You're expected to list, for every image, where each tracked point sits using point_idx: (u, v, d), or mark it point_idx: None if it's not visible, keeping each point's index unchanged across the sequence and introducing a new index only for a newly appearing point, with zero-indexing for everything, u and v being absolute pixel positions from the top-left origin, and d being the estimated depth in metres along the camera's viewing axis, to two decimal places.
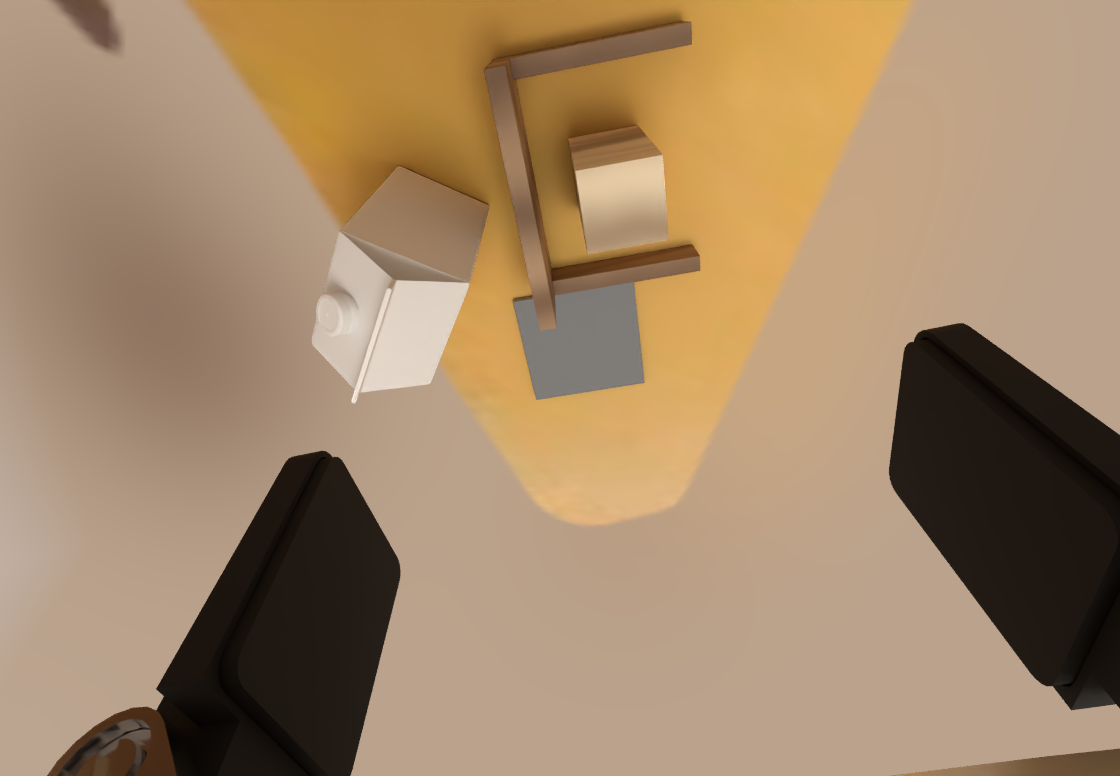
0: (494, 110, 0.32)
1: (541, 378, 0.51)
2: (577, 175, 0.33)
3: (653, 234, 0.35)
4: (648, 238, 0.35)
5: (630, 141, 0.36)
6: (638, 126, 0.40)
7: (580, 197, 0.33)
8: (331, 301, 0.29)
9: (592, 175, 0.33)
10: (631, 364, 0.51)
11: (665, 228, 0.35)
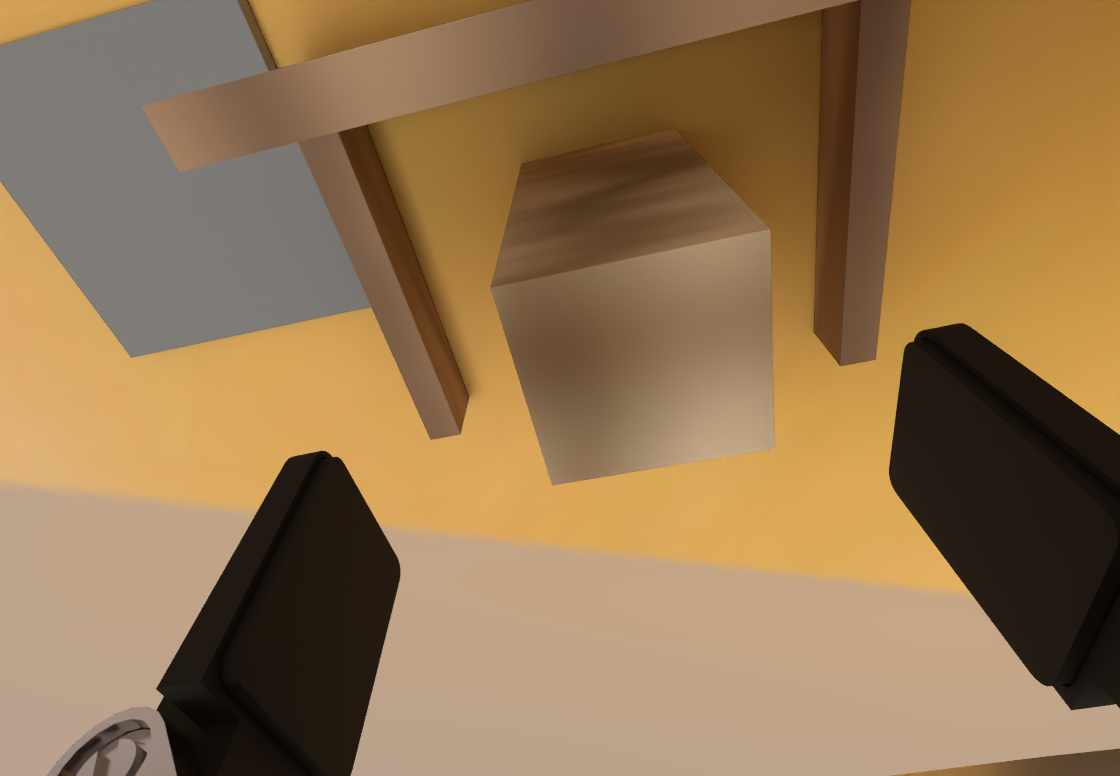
0: None
1: (7, 86, 0.17)
2: (754, 236, 0.10)
3: (565, 452, 0.13)
4: (554, 443, 0.12)
5: None
6: None
7: (682, 251, 0.10)
8: None
9: (747, 283, 0.10)
10: (165, 325, 0.21)
11: (582, 475, 0.13)
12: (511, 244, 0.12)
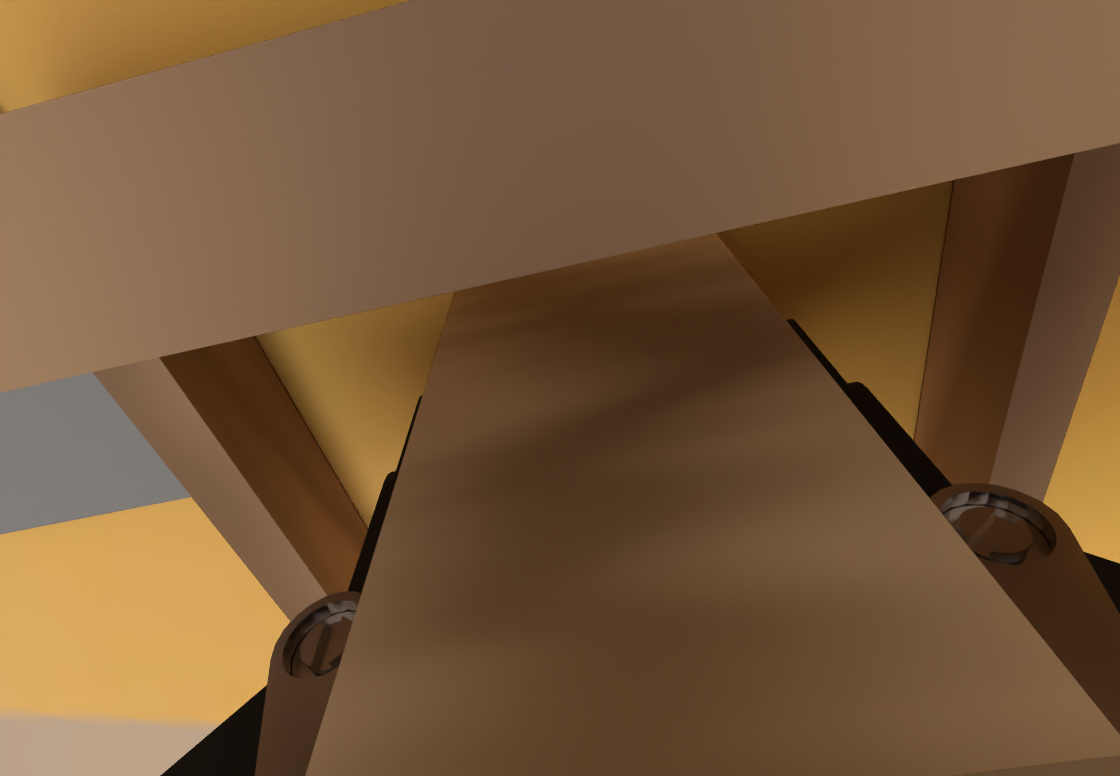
0: None
1: None
2: None
3: None
4: None
5: None
6: None
7: None
8: None
9: None
10: None
11: None
12: (371, 642, 0.05)
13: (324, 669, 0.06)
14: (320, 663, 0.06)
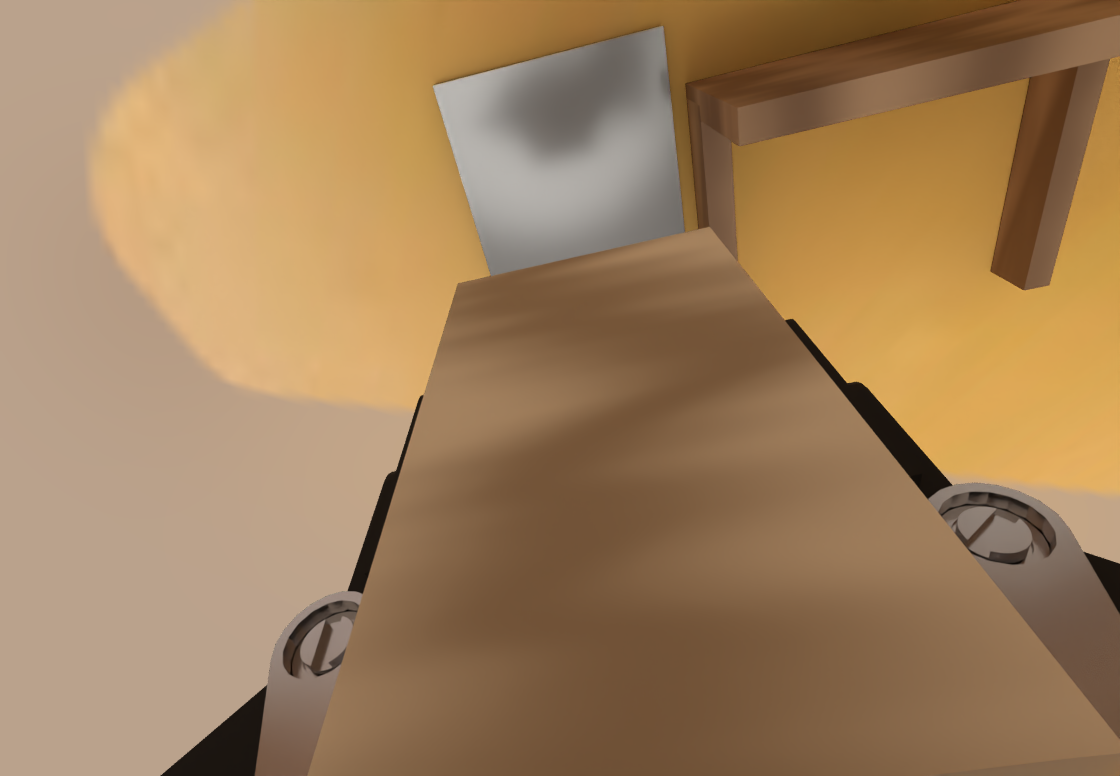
0: None
1: (489, 96, 0.25)
2: None
3: None
4: None
5: None
6: None
7: None
8: None
9: None
10: None
11: None
12: (371, 649, 0.05)
13: (324, 669, 0.06)
14: (320, 663, 0.06)
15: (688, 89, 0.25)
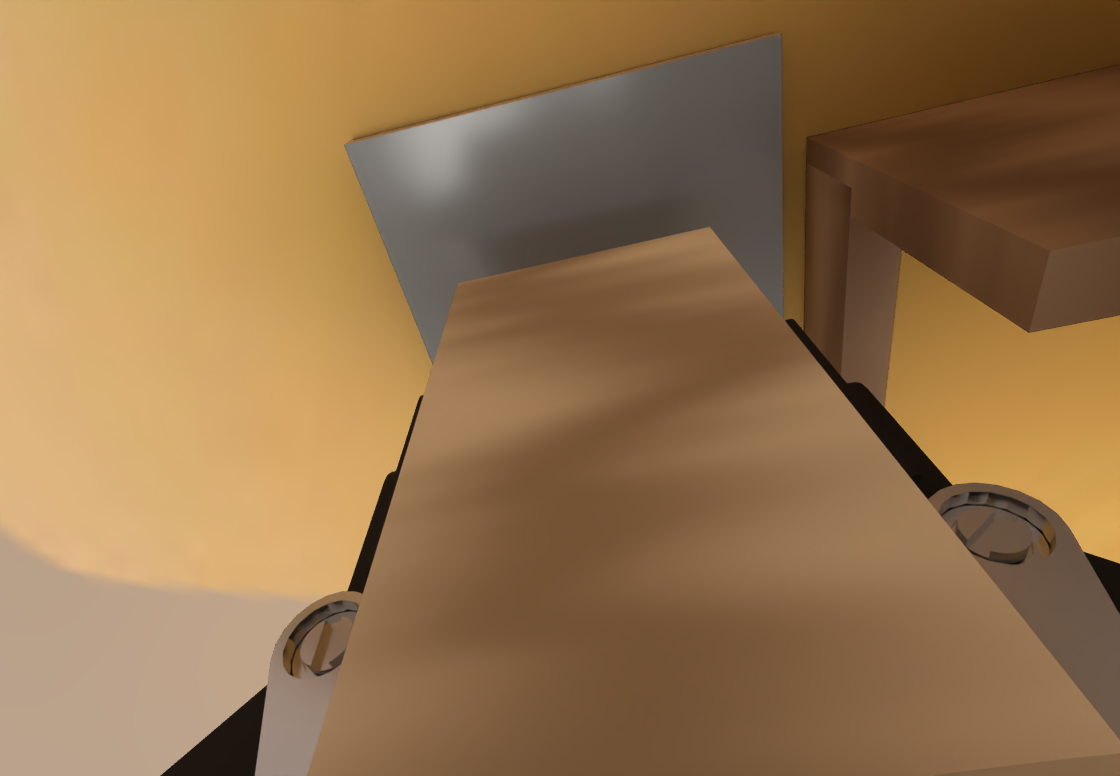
0: None
1: (449, 163, 0.14)
2: None
3: None
4: None
5: None
6: None
7: None
8: None
9: None
10: None
11: None
12: (371, 648, 0.05)
13: (324, 669, 0.06)
14: (320, 663, 0.06)
15: (816, 150, 0.14)
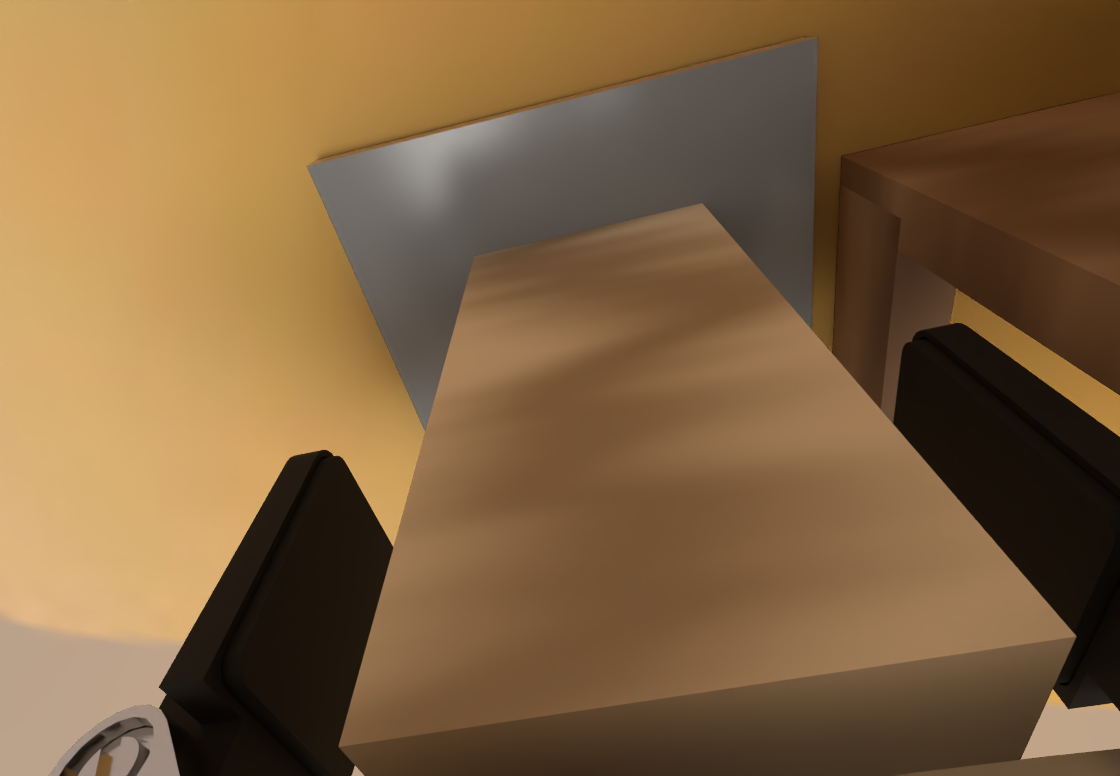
0: None
1: (429, 186, 0.12)
2: (1029, 649, 0.04)
3: None
4: None
5: None
6: None
7: (831, 677, 0.04)
8: None
9: (981, 718, 0.04)
10: None
11: None
12: (421, 520, 0.06)
13: None
14: None
15: (853, 171, 0.12)
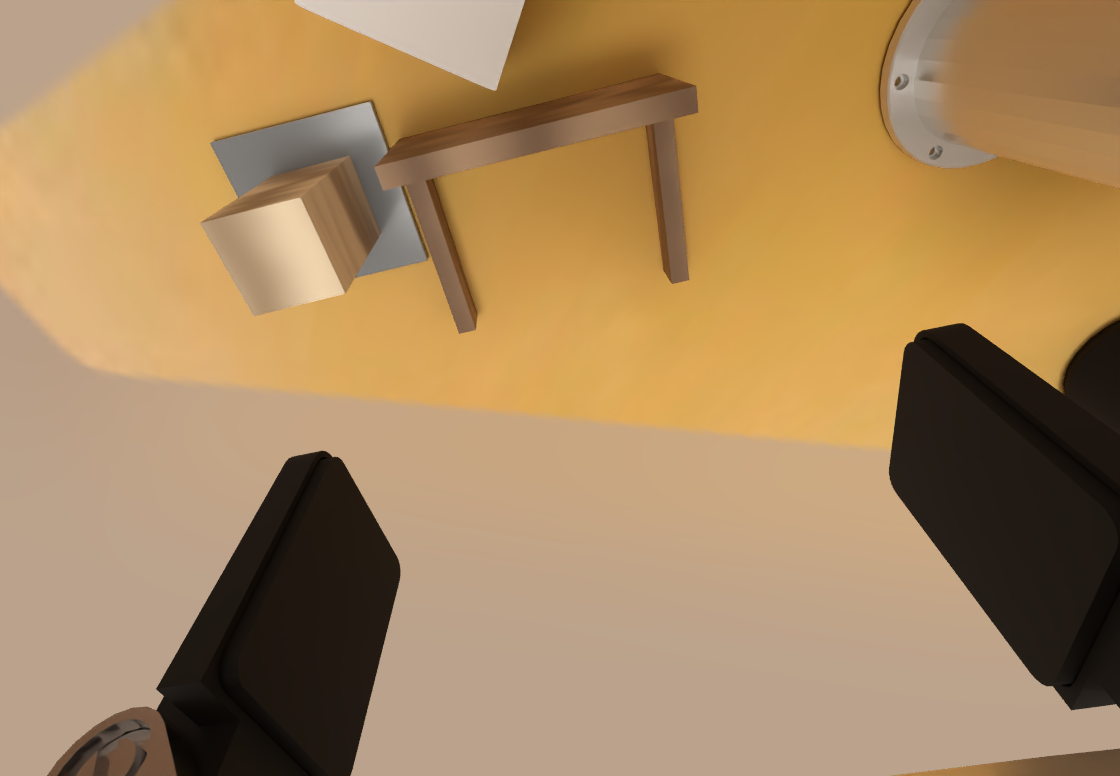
0: (654, 98, 0.28)
1: (253, 149, 0.34)
2: (295, 200, 0.27)
3: (254, 298, 0.29)
4: (247, 294, 0.29)
5: (357, 240, 0.33)
6: (379, 235, 0.37)
7: (270, 206, 0.27)
8: None
9: (301, 218, 0.27)
10: None
11: (266, 310, 0.30)
12: (223, 209, 0.29)
13: None
14: None
15: None
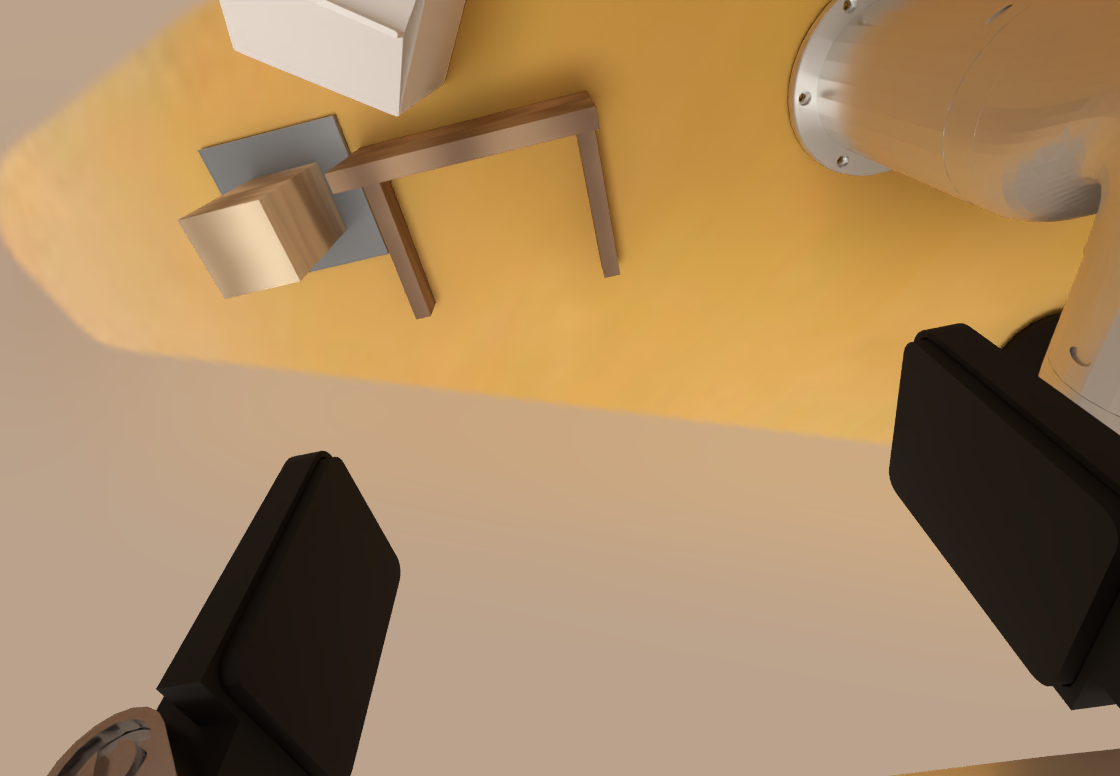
0: (560, 117, 0.33)
1: (234, 156, 0.40)
2: (255, 202, 0.32)
3: (224, 284, 0.35)
4: (218, 280, 0.34)
5: (318, 236, 0.38)
6: (344, 231, 0.43)
7: (234, 207, 0.32)
8: None
9: (260, 217, 0.33)
10: None
11: (235, 294, 0.35)
12: (200, 208, 0.34)
13: None
14: None
15: None
